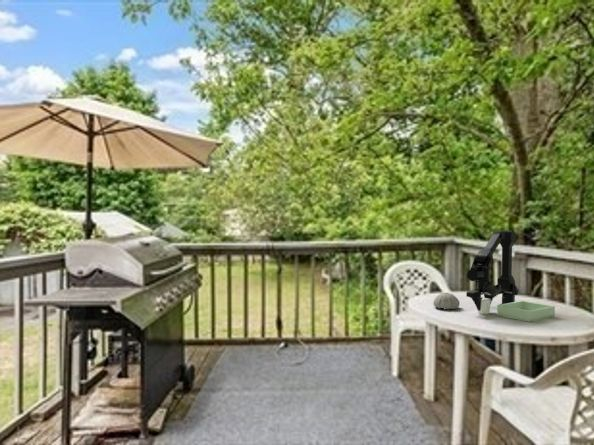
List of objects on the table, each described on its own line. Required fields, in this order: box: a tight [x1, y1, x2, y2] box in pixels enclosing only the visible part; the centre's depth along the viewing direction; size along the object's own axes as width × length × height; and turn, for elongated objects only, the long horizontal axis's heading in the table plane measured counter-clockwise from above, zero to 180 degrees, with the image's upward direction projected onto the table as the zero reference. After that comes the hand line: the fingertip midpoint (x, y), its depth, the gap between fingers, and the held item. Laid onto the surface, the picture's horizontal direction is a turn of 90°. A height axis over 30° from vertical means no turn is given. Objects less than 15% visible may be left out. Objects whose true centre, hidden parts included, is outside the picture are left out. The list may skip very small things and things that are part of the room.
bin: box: [496, 300, 556, 323], centre depth 278 cm, size 18×18×5 cm
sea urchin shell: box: [433, 292, 461, 310], centre depth 300 cm, size 13×14×8 cm
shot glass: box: [476, 297, 492, 315], centre depth 287 cm, size 7×7×7 cm
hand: (483, 309), depth 287 cm, fingers closed on shot glass, 6 cm apart
